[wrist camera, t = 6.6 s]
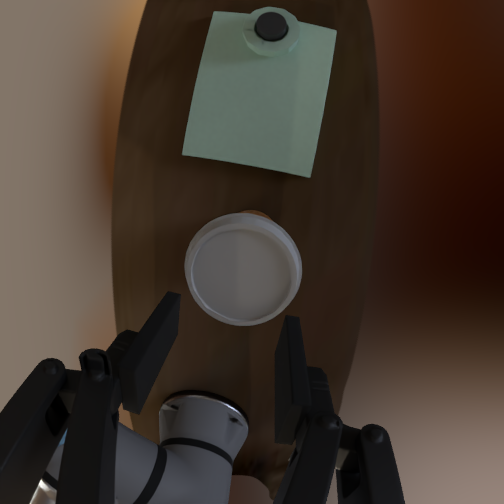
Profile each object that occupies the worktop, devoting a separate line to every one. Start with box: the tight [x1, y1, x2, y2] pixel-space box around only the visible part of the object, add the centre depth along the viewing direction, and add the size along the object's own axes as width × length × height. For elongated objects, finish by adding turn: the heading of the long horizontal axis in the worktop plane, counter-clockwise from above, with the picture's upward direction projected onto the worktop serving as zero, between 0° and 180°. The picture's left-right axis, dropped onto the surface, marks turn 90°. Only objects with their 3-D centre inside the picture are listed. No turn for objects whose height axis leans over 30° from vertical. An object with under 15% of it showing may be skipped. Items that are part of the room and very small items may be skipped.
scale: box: [182, 7, 337, 178], centre depth 27 cm, size 18×14×3 cm
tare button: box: [256, 12, 287, 40], centre depth 23 cm, size 3×3×2 cm
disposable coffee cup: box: [185, 210, 302, 326], centre depth 28 cm, size 10×10×12 cm
